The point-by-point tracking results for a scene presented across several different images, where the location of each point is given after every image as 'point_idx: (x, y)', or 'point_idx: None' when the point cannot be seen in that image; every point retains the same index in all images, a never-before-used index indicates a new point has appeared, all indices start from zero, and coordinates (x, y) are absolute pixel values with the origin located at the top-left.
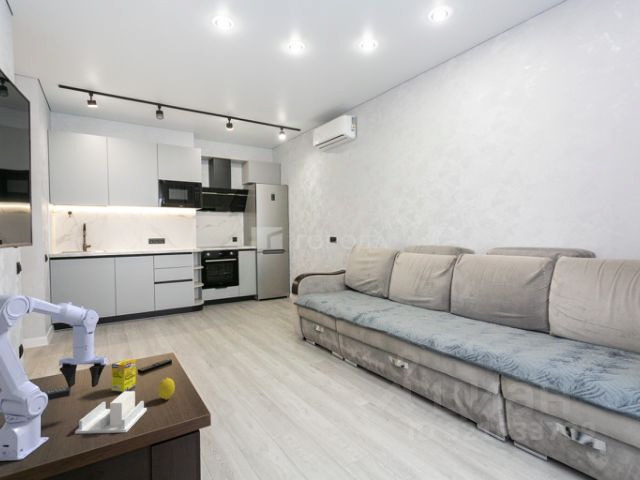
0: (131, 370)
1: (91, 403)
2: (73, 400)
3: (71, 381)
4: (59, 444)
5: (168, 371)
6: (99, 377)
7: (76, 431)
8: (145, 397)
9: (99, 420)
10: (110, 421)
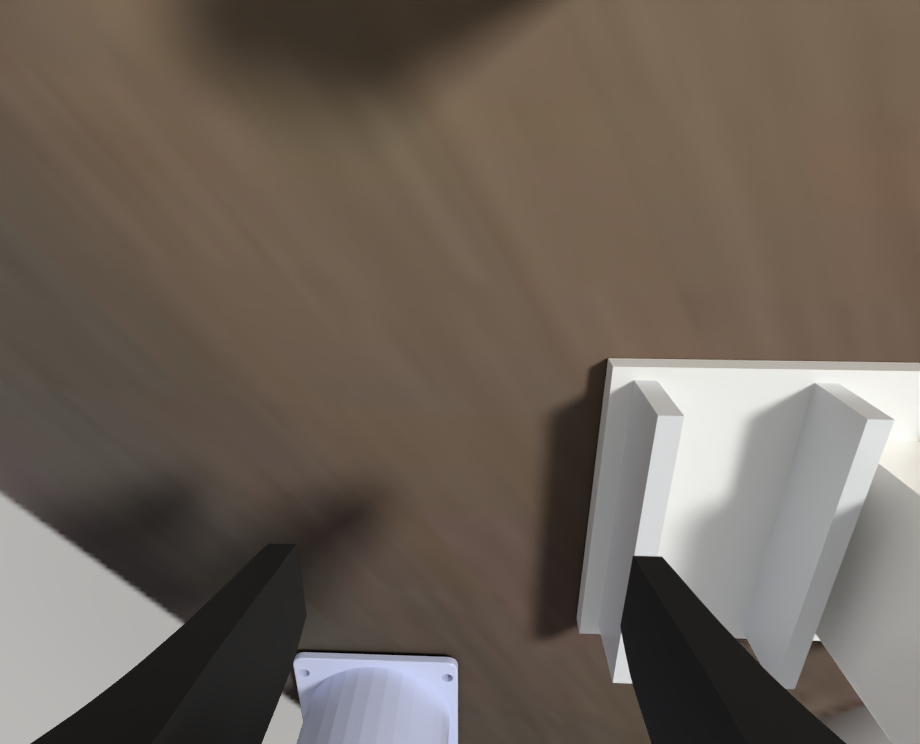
0: None
1: (412, 187)
2: (156, 98)
3: (270, 662)
4: (551, 692)
5: None
6: (734, 647)
7: (587, 629)
8: None
9: (685, 537)
10: (816, 630)
